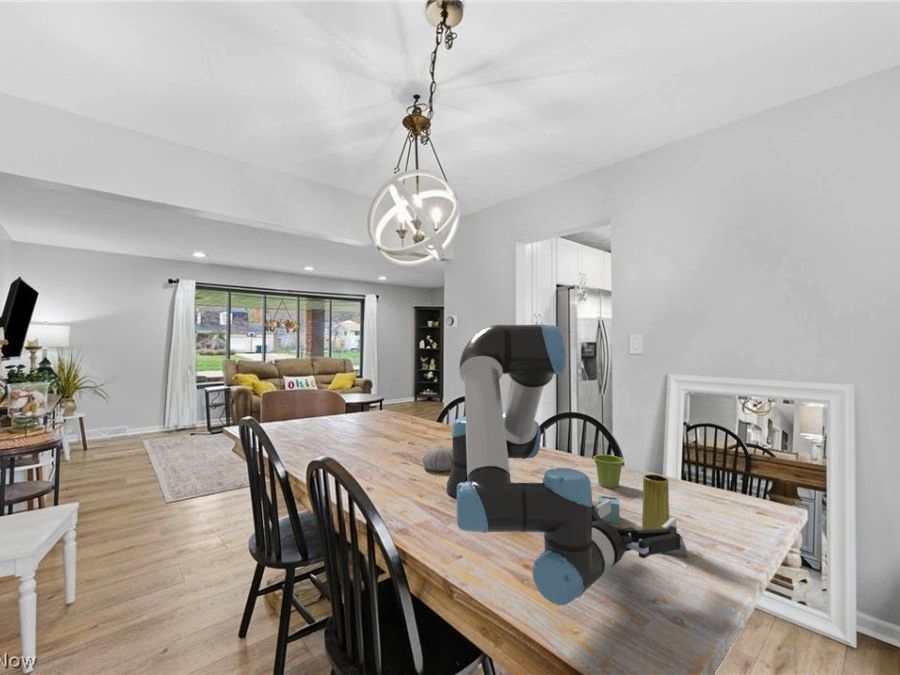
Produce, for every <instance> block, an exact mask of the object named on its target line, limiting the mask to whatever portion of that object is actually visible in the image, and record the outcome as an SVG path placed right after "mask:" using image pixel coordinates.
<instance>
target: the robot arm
mask: <svg viewBox="0 0 900 675" xmlns="http://www.w3.org/2000/svg"><path fill="white" fill-rule="evenodd" d="M566 364H567V361H566V347H565V340H564V335H563V332H562V330H561V329H560V328H559V327H558V326H557V325H552V324H551V325H550V324H543V323H541V324H494V325H490V326H487V327H484V328H483V329H480V331H478V332H476V333H475V334H474V335H473V337H471V339H469V341H468V342H467V343H466V345H465V347H464V348H463V351H462V353H461V356H460V360H459V377H460V379H461V381H463V382H464V405H465V406H464V407H465V408H464V409H465V410H464V411H465V416H462V417H459V418H456V419H455V420H454V421H453V423H452V433H451V437H452V449H451V450H452V469H451V470H450V473H449V476H448V480H447V481H446V493H447V494H448V495H449V496H451V497H454V498H456V524H457V527H458V528H459V529H460V530H461V531H464V532H472V533H473V532H476V533H484V534H487V533H499V532H502V533H503V532H504V533H505V532H507V533H508V532H509V533H511V532H516V533H517V532H520V533H544V535H543V537H544V552H541V553H540V555H539V556H538V557H536V559H535V561H534V562H533V566H532V570H531V571H532V574H531V575H532V579H533V582H534V584H535V587H536V588H537V590H538V592H539V594H541V596H542V597H543V598H544V599H546V600H547V601H548V602H550V603H551V604H552V605H553V604H554V605H556V606H565V605H568V604H570V603H572V602H573V601H575V600H576V599H578V598H580V597H581V596H583V594H584V593H585V592H586V591H587V590H588V589H589V588H590V587H591V586H592V585H593V584H594V583H596V581H597V580H599V579H600V578H602V576H603V575H605V573H607V572H608V571H609V570H610V569H611V568H613V567H614V566H615V565H616V564H617V563H618V562H620V560H621V559H622V558H623V556H624V554H625V553H626V552H629V551H631V550H633V551H635V552H638V557H639V558H641V559H646V558H648V557H650V556H651V555H656V554H663V553H662V552H667V551H672V550H677V549H681V540H682V538H681V534H680V533H679V532H677V529H678V528H677V517H675V516H672V517H669V520H668V521H667V522H666V523H665V524H664V525H663V526H662V529H654V530H635V529H634V528H629V527H621V526H616V525H614V524H610V523H609V522H605V521H604V520H603V517H604V516H606V515H607V514H609V513H610V512H611V500H609V499H607V500H605V501H604V502H602V503H600V504H599V503H598V504H594V502H593V493H592V490H593V489H592V484H591V483H592V482H591V479H590V477H589V476H588V475H587V474H586V473H584V472H583V471H581V470H578V469H575V468H569V467H567V468H566V467H557V468H550V469H548V470H546V471H545V473H544V477H543V480H542V482H512V480H511V470H510V463H509V461H510V460H509V459H522V460H527V459H532V458H535V457H537V455H538V453H539V452H540V448H541V441H542V440H541V439H542V433H541V428H540V425H539V422H537V421H536V420H535V419H536V416H537V412H538V408H539V405H540V402H541V397H542V393H543V389H544V387H545V386H546V385H548V384H549V383H550V382H551V380H552V379H553V377H554V375H556V376H557V375H560V374H561V375H562V374H563V373H565V371H566ZM503 375H508V376H509V377H510V382H509V383H510V384H509V389H508V393H507V401H506V407H505V411H503V403H502V402H503V401H502V393H501V386H500V384H501V383H500V379H501V378H502V377H503ZM630 533H631V537H630ZM678 533H679V534H678Z"/></svg>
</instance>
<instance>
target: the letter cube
mask: <svg viewBox="0 0 900 675" xmlns="http://www.w3.org/2000/svg"><path fill="white" fill-rule="evenodd" d="M607 499H609V500H611V512H610V513H609V514H607V515H606V516H604V517H603V520H604V521H605V522H606V523H610V522H611V524H618V525H619V524H620V499H619V497H616V496H607V495H598V505H599V504H600V503H602V502H604V501H605V500H607Z"/></svg>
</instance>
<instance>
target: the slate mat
mask: <svg viewBox="0 0 900 675" xmlns="http://www.w3.org/2000/svg"><path fill="white" fill-rule="evenodd" d="M628 528H634V529H635V530H642V527H640V526H633V525H629V526H628ZM677 533H678V534H680V533H679V532H677ZM629 535H630V537H631V533H629ZM661 554H664V555H669V556H675V557H676V556H677V557H682V558H688V553H687V550H686V547H685V545H684V542H683V541H682V539H681V549H677V550H672V551H667V552H662V553H661Z"/></svg>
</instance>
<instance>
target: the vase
mask: <svg viewBox="0 0 900 675" xmlns="http://www.w3.org/2000/svg"><path fill="white" fill-rule="evenodd" d="M642 487H643V488H642V496H643V497H642V519H641V520H642V521H641V523H642V525H641V526H642V527H641V528H642V530H654V529H662V526H663V525H664V524H665V523H666V522H667V521H668V520H669V519H670V503H669V500H670V499H669V497H670V496H669V494H670V492H669V479H668V477H666V476H663V475H660V474H652V473H651V474H650V473H649V474H645V475H643V481H642Z"/></svg>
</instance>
